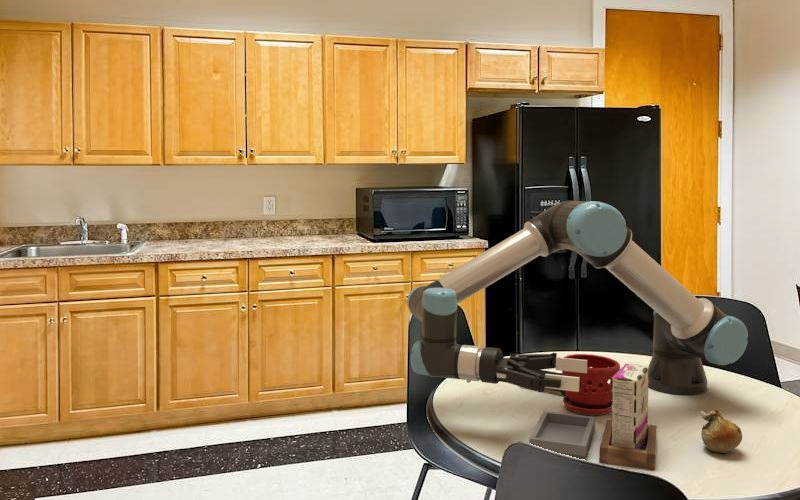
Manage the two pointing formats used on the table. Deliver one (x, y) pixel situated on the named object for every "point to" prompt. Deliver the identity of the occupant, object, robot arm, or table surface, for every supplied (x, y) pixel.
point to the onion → (720, 433)
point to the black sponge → (555, 391)
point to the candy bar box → (630, 406)
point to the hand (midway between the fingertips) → (583, 375)
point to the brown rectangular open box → (628, 450)
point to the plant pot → (592, 385)
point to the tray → (564, 433)
